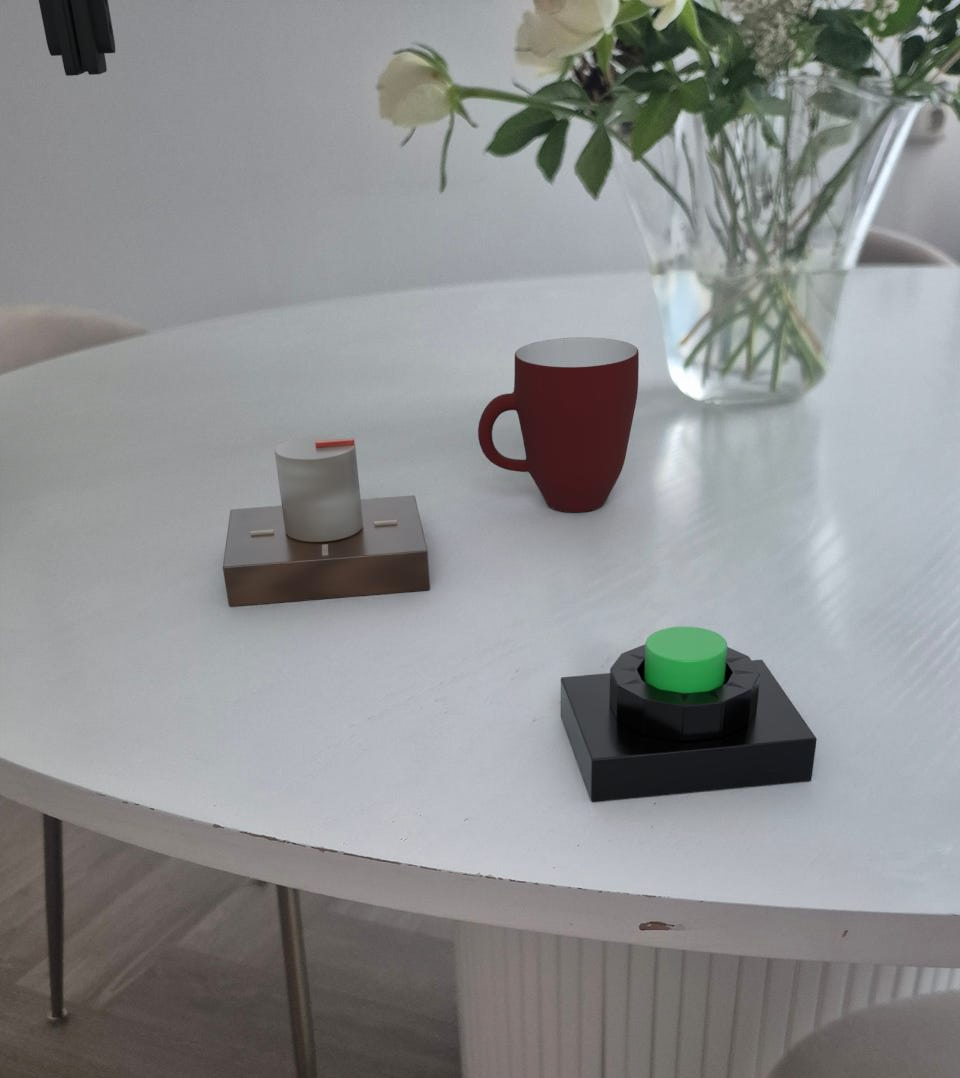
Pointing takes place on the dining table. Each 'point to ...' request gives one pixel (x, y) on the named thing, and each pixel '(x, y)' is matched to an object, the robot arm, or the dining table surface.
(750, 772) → the switch block
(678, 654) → the light button
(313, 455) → the dimmer knob
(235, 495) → the dining table surface
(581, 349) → the mug
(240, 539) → the dimmer panel
